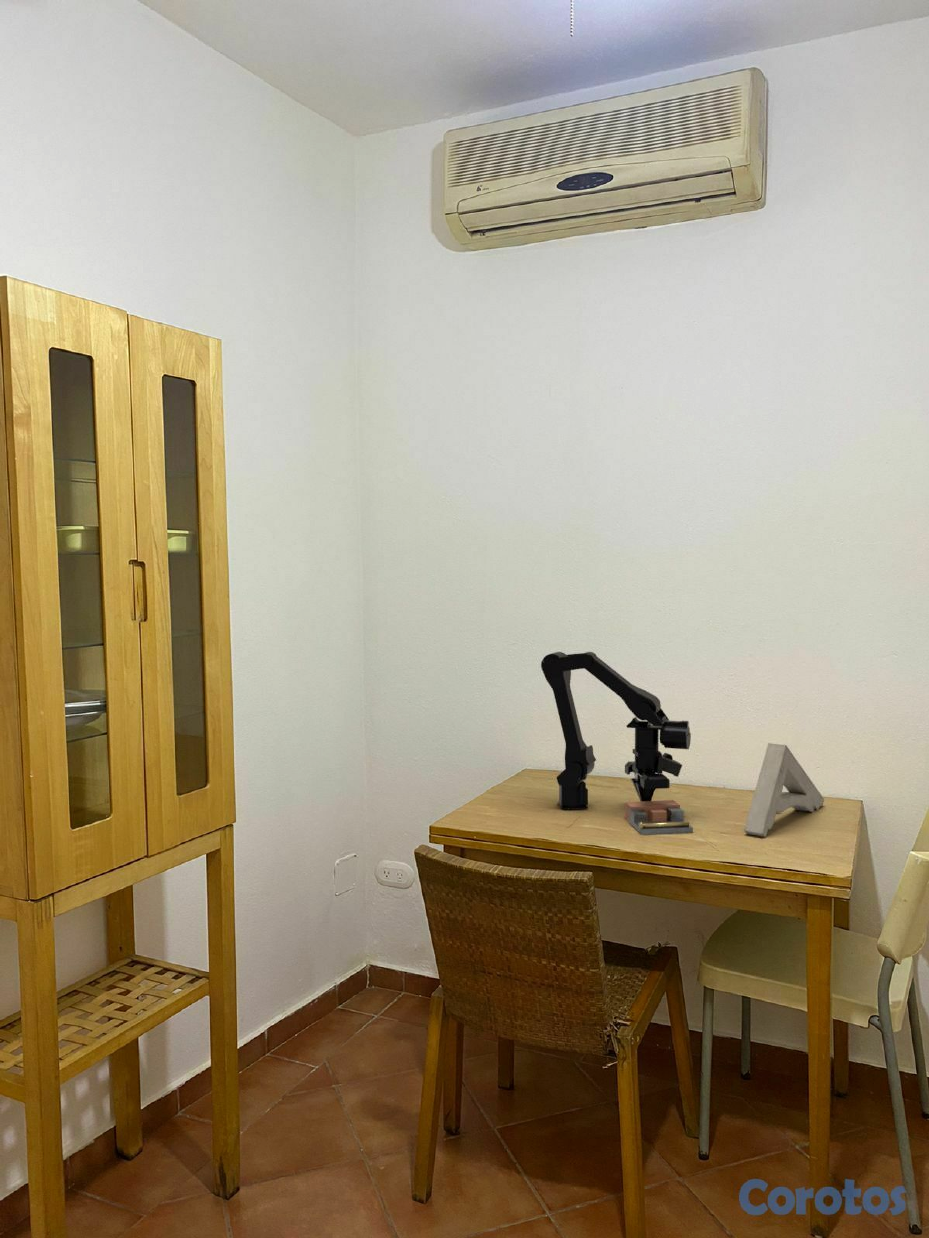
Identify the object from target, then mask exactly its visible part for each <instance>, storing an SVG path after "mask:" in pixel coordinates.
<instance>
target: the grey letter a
mask: <svg viewBox="0 0 929 1238" xmlns="http://www.w3.org/2000/svg"><path fill="white" fill-rule="evenodd" d="M761 764H762V765H761V767H760V771H759V774H758V779H757V783H756V787H755V790H754V793H753V797H752V800H751V805H750V807H749V811H748V814H747V818H746V820H745V821H746V822H745V826H744V828H743V832H745V833H746V835H749V836H755V835H756V836H755V837H760V836H761V838H766V837H767V834H768V830H769V831H770V830H771V829H772V828H773V826H774V823H775V819H776V815H781V814H782V813H784V812H785V811H787V810H788V809H790V808H792V809H794V810H795V811H801V812H807V811H809V812H808V813H814V812H815V811H817V810H819V809H820V808H821V806H824V803H825V798H824V797H823V795H822V794H821V792H820V790H818V788H817V786H816V785H815V784H814V783H813V781H812V779H810V776H808V774H807V773H806V771H805V770H804V768H803V767H802V766H801V764H800V763H799V761H798V760H797V758H796V757H795V756H794V754H793V753H792V751H791V750H790V748H789V747H788V746H787V744H778V743H769V742H768V743H767V746H766V750H765V754H764V757H763V761H762V763H761ZM784 787H785V789H786V791H787V792H786V791H785V792H783V788H784ZM815 809H816V810H815ZM813 811H814V812H813Z"/></svg>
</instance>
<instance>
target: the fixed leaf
mask: <svg viewBox="0 0 929 1238" xmlns="http://www.w3.org/2000/svg"><path fill="white" fill-rule="evenodd" d="M639 822H642V823H668V822H686V821H685V811H684V809H682V807H681V806H680V807H667V821H659V822H647V812H646V811H645V810H643V809H642V808H639V809H630V822H629V824H630V825H631V826H632V827H633V828H634V829H635V830H636V831H638V833H639V834H640V835H641V836H645V835H646V836H647V835H648V836H649V835H672V834H676V835H677V834H693V833H694V828H693V826H691V824H689V826H681V827H654V828H643V829H639Z"/></svg>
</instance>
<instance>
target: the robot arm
mask: <svg viewBox="0 0 929 1238" xmlns="http://www.w3.org/2000/svg"><path fill="white" fill-rule="evenodd" d="M540 668H541V670H542V673H543V675H544V677H545V680H546V682H547V683H548V685H549V687H551V689H552V692H553V696H554V700H555V703H556V708H557V714H558V718H559V722H560V726H561V730H562V734H563V738H564V742H565V749H564V768H565V769H564V770H562V771H561V772H560V774H558V775H557V776H556V781H557V784H558V801H557V805H558V804H559V805H558V807H560V809H561V808H562V809H561V810H564V811H566V810H568V811H569V810H588V804H589V788H587V786H586V785H587V783H586V782H585V781H586V780H587V777H588V776H589V774H591V773H592V772H593V770H594V769H595V762H597V758H596V757H595V754H594V748H593V745H589V746H588V745H587V744H586V742H585V741H584V739H583V734H582V731H581V727H580V722H579V718H578V714H577V713H578V712H577V710H576V706H575V701H574V698H573V693H572V692H573V691H572V689H571V677H572V671H575V670H576V671H577V670H583V669H584V670H586V671H587V672H588V673H589V674H591V675H592V676H593V677H595V679H597V680H598V681H600V682H601V684H603V685H605V687H607V688H608V689H610V690H611V691H612V692H613V693H615V694H616V695H617V696H618V697H619V698H620V699H621V700H622V701H623V702H624V704H625V706H626V707H627V708H628V710H629V711H630V712H631V713H632V714H633V715H634V717H633V718H631V719H632V720H631V721H630V722H629V723H628V724H627V725H626V728H628V729H634V748H632V754H633V755H634V761H627V762H626V763H625V764H624V773H625V774H626V775H630V774H631V773H633V777H632V778H630V780H631V783H632V784H633V787H634V790H635V792H636V794H637V796H638V798H639V799H638V800H639V801H653V796H654V792H655V791H656V790H657V789H658V790H661V789H670V783H671V782H670V779H669V778H668V777H667V776H666V775H664V774H663V772H665V773H668V774H670V775H673V777H677V778H678V777H679V775H680V773H681V770H682V767H683V764H682V763H680V762H679V761H677V760H674V759H673V755H672V754H670V753H668V752H664V753H662V752H661V751H659V744H661V746H663V747H664V748H665V749H673V750H674V749H675V750H678V749H679V750H689V749H690V746H691V740H692V739H691V737H692V733H691V730H690V725H689V724H690V723H689V721H688V720H680V721H679V720H670V719H669V717H668V716H667V715H666V713H665V711H664V710H663V709H662V708H661V707H662V705H661V704H662V703H661V701H660V699H659V698H658V697H657V696H656V695H655V694H653V693H650V692H649V691H647V690H645V689H644V688H641V687H638V686H636V685H634V684H633V683H631V682H630V681H628V680H627V679H626V678H625V677H623V676H622V675H621V674H619V672H617V671H616V670H615V669H614V668H612V667H611V666H610V665H608V664H607V663H606V662H605V661H603V660H602V659H601V658H600V657H598V656H597V654H596V653H595V652H593V651H586V652H582V653H581V652H579V653H572V654H571V653H570V654H566V653H565V652H563V651H556V652H552V653H549V654H547V655H545V656H544V657H543V659H542V660H541V663H540Z"/></svg>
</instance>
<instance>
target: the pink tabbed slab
mask: <svg viewBox="0 0 929 1238" xmlns="http://www.w3.org/2000/svg"><path fill="white" fill-rule="evenodd" d="M624 806H625V807H624V812H625V813H624V814H625V815H624V817H625V820H627V821H628V822H629V823H630V809H639V808H642V809H643V810H645V811H646V812H647V822H659V821H667V807H680V808H681V804H680V803H679V802H677V801H675V800H673V799H667V800H666V799H665V800H651V801H640V800H639V801H625V804H624Z"/></svg>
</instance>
